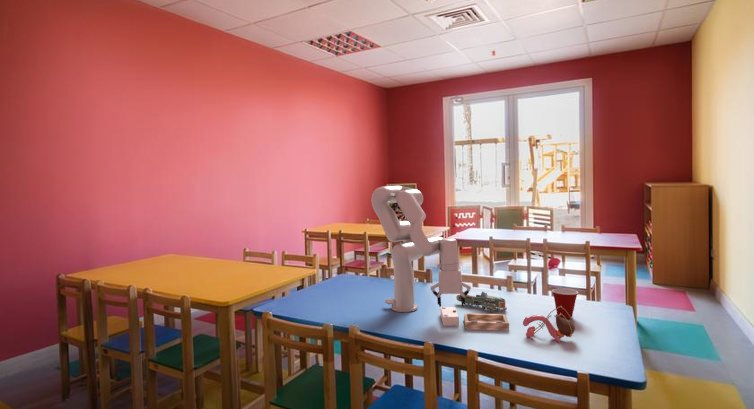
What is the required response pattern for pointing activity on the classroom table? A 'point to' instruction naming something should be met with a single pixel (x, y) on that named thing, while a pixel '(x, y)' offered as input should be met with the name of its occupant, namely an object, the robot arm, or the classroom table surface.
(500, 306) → the hoverbike
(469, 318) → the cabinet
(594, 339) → the classroom table surface
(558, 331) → the anatomy model
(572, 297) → the plastic cup
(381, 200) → the robot arm
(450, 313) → the pale pink knobbed block
